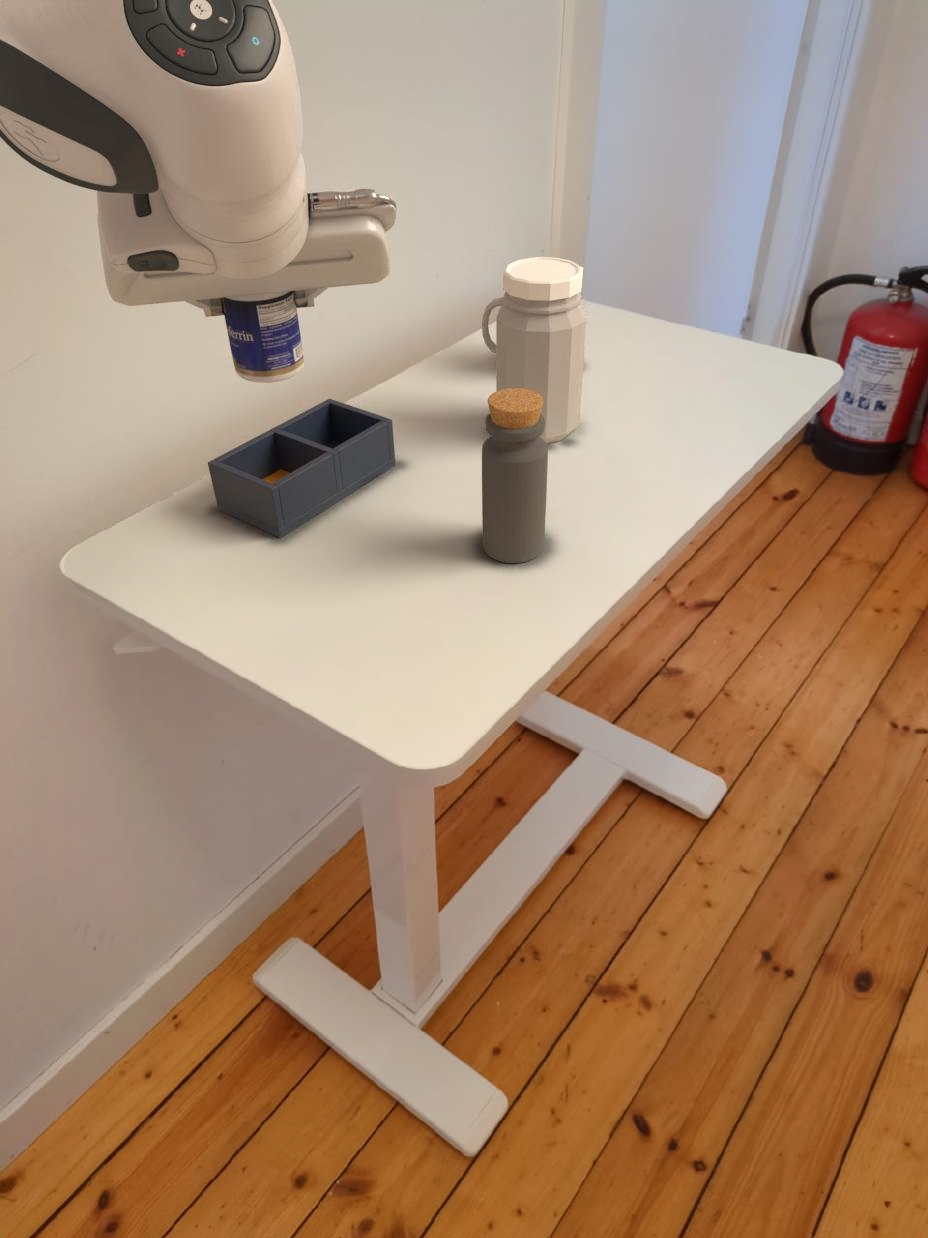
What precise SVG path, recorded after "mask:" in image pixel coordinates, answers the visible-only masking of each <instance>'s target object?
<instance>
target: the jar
mask: <svg viewBox="0 0 928 1238" xmlns="http://www.w3.org/2000/svg"><path fill="white" fill-rule="evenodd" d="M583 274H584V267H582V266H581V265H579V264H578V263H576V262H574V261H572V260H569V259H565V258H560V257H553V256H552V257H551V256H534V257H528V258H520V259H517V260H515V261H513V262H511V263H509V264H506V265H504V268H503V272H502V290H503V291H504V293H503V296H502V298H503V302H504V304H503V305H502V306H500V308H499V309H498V312H497V314H496V320H495V322H496V325H495V327H496V329H495V331H496V336H495V337H496V338H495V339H496V340H495V341H496V342H495V344H496V354H495V356H496V361H495V362H496V363H495V364H496V365H495V367H496V368H495V369H496V371H495V372H496V374H495V375H496V387H495V388H496V391H495V392H497V391H499V390H503V389H509V388H523V389H528V390H532V391H535V392H537V393H538V394H540V395H541V396H542V398H543V405H542V409H541V414H542V415H543V416H544V419H545V429H544V432H543V433H542V434H541V435H540V437H541V438H542V439H543V440H544V441H545V442H546V443H547V444H549V443H554V442H559V441H562V440H564V439H566V438H567V437H568V436H570V435H571V434H573V432H575V430H576V429H577V428H578V427H579V426H580V422H581V421H580V420H581V409H582V394H583V393H582V392H583V376H584V361H585V360H584V359H585V347H586V345H585V344H586V330H587V329H586V328H587V317H588V316H587V315H588V313H587V310H586V309H585V308H584V306H583V304H582V297H583V296H582V295H583V294H582V293H581V292H582V286H583ZM579 292H580V293H579Z"/></svg>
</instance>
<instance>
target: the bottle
mask: <svg viewBox="0 0 928 1238" xmlns="http://www.w3.org/2000/svg"><path fill="white" fill-rule="evenodd" d="M487 405H488V409H489V410H488V411H489V413H488V414H487V416H486V417H485V432H486V433H487V434H488V435H489V436H488V438H486V439H485V440H484V441H483V443H482V446H481V518H482V519H481V520H482V548H483V550H484V553H485V554H486V555H487V556H488V557H490V558H492V559H493V560H495V561H498V562H500V563H505V564H506V563H507V564H520V563H526V562H530V561H532V560H534V559H537V558H538V557H539V556H540V555H541V554H542V552H543V551H544V547H545V538H546V536H545V535H546V518H547V517H546V515H547V514H546V513H547V493H548V492H547V490H548V466H549V465H548V463H549V447H548V443H546V442H545V441H544V440H543V439H542V438H541V437H540V435H541V434H542V433H543V432H544V429H545V419H544V416H543V415H542V414H541V409H542V405H543V398H542V396H541V395H540V394H538V393H537V392H535V391H532V390H528V389H523V388H509V389H503V390H499V391H497V392H496V391H495V392H493V393H492V394H490V395H489V396H488V398H487Z"/></svg>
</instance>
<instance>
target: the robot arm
mask: <svg viewBox="0 0 928 1238" xmlns="http://www.w3.org/2000/svg"><path fill="white" fill-rule="evenodd" d="M302 110H303V108H302V99H301V91H300V85H299V79H298V72H297V67H296V60H295V57H294V52H293V47H292V46H291V41H290V38H289V35H288V32H287V30H286V27H285V25H284V23H283V20H282V17H281V15H280V14H279V11H278V9H277V8H276V6H275V4H274V2H273V0H0V138H1V140H2V141H3V142H4V143H5V144H6V145H7V146H8V147H10V149H12V150H13V151H14V152H15V153H16V154H17V155H18V156H19V157H21V159H24V160H25V161H26V162H28V163H29V164H31V165H32V166H33V167H35V168H37V169H39V170H40V171H42V172H44V173H46V174H48V175H50V176H52V177H54V178H56V179H58V180H61V181H63V182H65V183H68V184H71V185H74V186H77V187H81V188H83V189H87V190H92V191H96V199H97V201H96V202H97V228H98V238H99V245H100V254H101V261H102V266H103V273H104V279H105V284H106V288H107V291H108V294H109V296H110V298H111V299H112V300H113V301H114V302H115V303H117V304H121V305H123V306H127V307H136V306H137V307H138V306H146V305H154V304H155V305H157V304H167V303H177V302H185V303H188V304H189V305H192V306H195V307H197V308H199V309H201V310H202V311H203V313H204V315H205V318H210V317H219V316H224V311H223V306H222V301H221V298H222V297H233V296H243V295H254V294H265V293H276V292H286V291H294V295H295V302H296V308H297V309H303V308H313V307H314V308H315V299H316V298H317V297H319V296H320V295H321V294H323V293H324V292H325V291H326V290H328V289H329V288H339V287H349V286H359V285H371V284H378V283H380V282H381V281H383V280H384V279H386V278H387V277H388V276H389V275H390V273H391V258H390V251H389V243H388V238H387V232H388V231H389V230H391V229H392V228H393V227H394V225H395V224H396V223H395V222H396V219H397V204H396V202H395V200H394V198H393V197H392V196H389V195H388V196H387V195H385V194H381V193H380V194H379V193H376V191H375V189H372V188H359V187H344V188H331V189H330V188H329V189H318V190H317V189H315V190H308V184H307V183H308V182H307V169H306V164H305V159H304V156H303V153H302V147H303V141H304V122H303V111H302Z"/></svg>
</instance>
